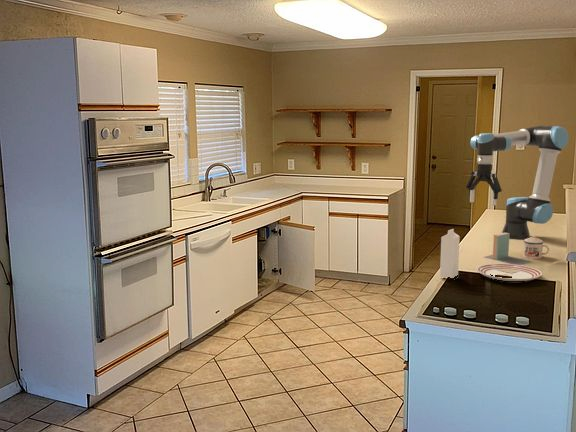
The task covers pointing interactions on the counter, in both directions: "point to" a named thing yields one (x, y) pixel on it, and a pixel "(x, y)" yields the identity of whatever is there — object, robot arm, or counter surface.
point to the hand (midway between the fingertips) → (482, 203)
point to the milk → (449, 254)
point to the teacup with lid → (533, 248)
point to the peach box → (501, 245)
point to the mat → (510, 260)
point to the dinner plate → (521, 275)
